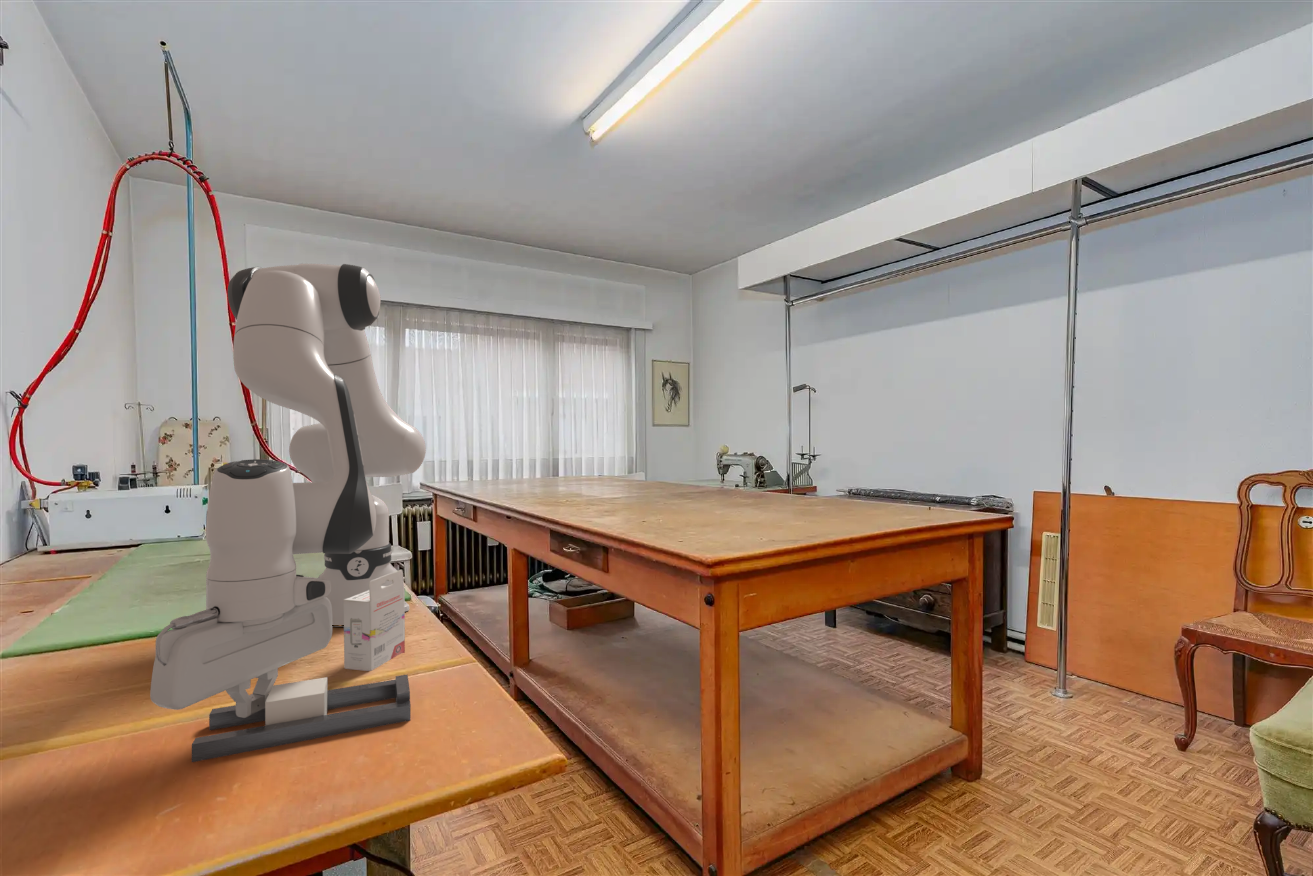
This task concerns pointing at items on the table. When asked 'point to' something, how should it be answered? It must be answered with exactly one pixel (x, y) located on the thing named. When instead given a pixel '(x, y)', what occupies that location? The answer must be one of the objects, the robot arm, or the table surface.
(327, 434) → the robot arm
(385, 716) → the chute
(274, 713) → the block
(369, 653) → the ink cartridge box
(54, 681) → the table surface
